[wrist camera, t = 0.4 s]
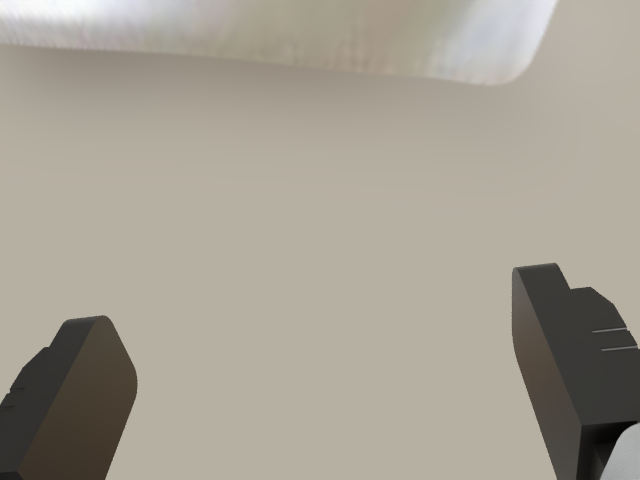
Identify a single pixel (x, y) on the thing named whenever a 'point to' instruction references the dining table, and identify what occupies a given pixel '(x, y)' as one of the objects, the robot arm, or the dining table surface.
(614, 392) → the robot arm
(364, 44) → the dining table surface
